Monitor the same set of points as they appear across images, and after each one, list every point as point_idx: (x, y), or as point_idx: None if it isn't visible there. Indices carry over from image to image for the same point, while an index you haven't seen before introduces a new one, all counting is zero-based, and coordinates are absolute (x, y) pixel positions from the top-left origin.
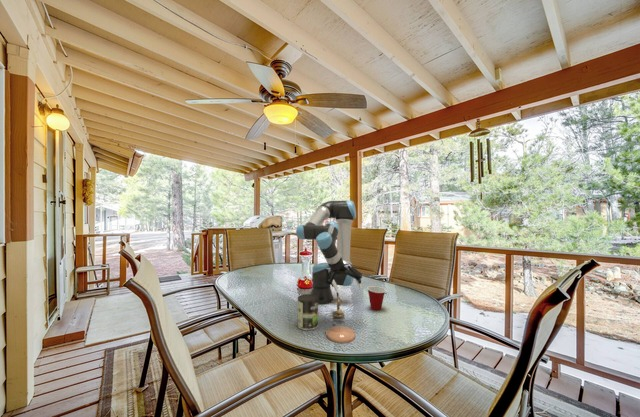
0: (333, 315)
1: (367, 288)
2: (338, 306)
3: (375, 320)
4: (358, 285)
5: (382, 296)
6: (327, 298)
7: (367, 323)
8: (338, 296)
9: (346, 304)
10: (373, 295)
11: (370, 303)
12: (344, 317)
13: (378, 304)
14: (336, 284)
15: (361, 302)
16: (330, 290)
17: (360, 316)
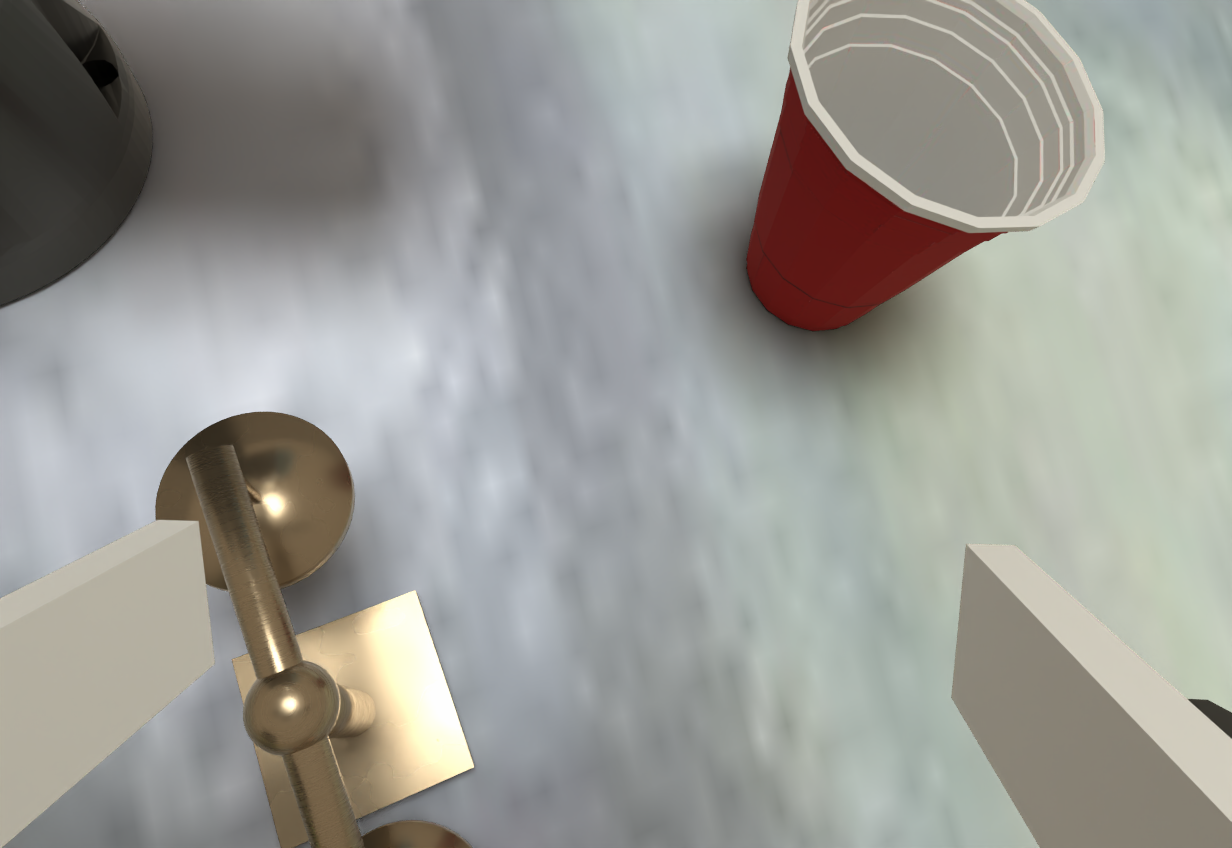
0: (273, 779)
1: (812, 101)
2: (332, 736)
3: (901, 646)
4: (1040, 817)
5: (1011, 205)
6: (32, 214)
7: (834, 795)
8: (274, 627)
9: (388, 224)
10: (903, 241)
11: (772, 263)
12: (473, 765)
13: (897, 294)
14: (77, 595)
15: (577, 115)
16: (22, 28)
17: (680, 582)
